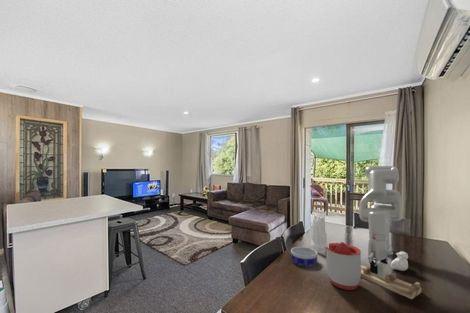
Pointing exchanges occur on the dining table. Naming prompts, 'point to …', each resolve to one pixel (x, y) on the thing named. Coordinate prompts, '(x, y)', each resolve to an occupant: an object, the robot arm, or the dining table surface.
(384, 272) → the frame block
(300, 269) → the dining table surface
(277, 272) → the dining table surface
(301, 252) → the dog bowl
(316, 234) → the white crystal cluster
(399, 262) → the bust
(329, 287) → the dining table surface
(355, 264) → the citrus juicer
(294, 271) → the dining table surface
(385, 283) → the wooden rack
